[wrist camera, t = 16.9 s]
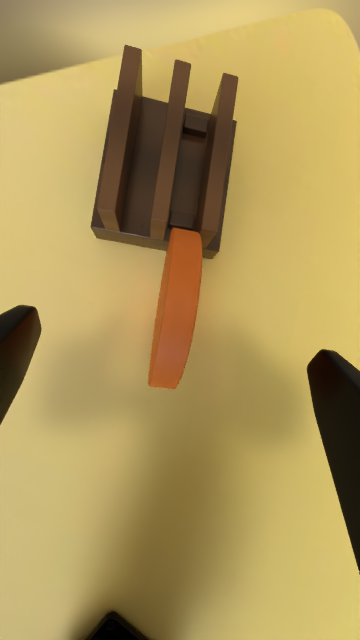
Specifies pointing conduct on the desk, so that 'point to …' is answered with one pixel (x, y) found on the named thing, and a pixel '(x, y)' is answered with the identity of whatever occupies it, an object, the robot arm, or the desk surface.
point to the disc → (176, 309)
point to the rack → (164, 162)
